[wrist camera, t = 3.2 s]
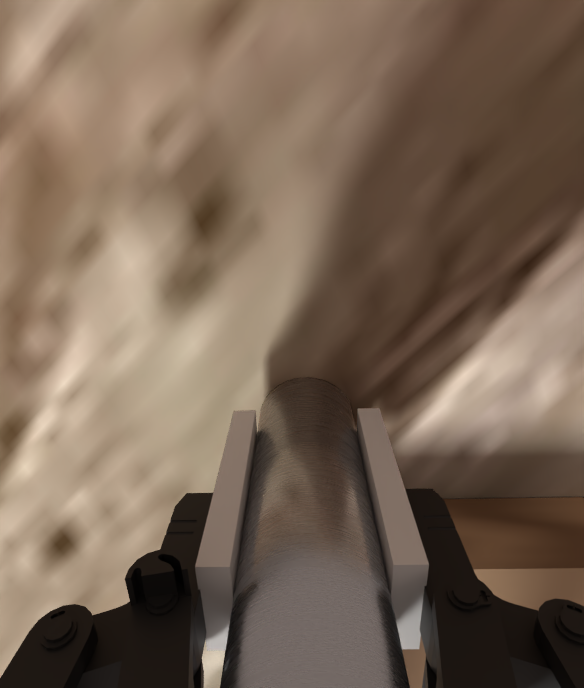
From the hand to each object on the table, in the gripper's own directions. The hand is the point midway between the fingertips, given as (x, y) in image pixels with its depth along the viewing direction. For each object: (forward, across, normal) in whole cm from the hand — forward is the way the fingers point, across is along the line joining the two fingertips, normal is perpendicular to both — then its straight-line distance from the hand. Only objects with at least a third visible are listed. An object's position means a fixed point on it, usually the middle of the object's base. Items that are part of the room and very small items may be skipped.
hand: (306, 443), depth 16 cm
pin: (+2, 0, 0) cm, 2 cm away
